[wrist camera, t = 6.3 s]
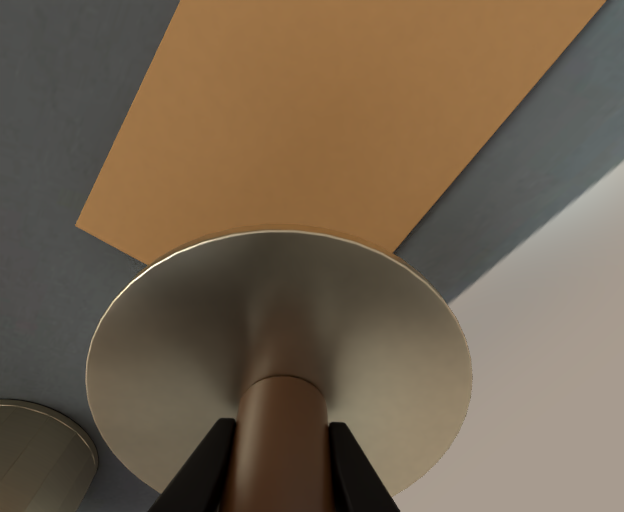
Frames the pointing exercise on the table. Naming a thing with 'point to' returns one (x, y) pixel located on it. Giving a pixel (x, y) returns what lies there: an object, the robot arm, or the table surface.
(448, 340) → the lid
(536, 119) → the table surface
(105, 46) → the table surface
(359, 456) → the robot arm
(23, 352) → the table surface
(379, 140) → the mat
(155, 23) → the table surface
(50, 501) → the pot
